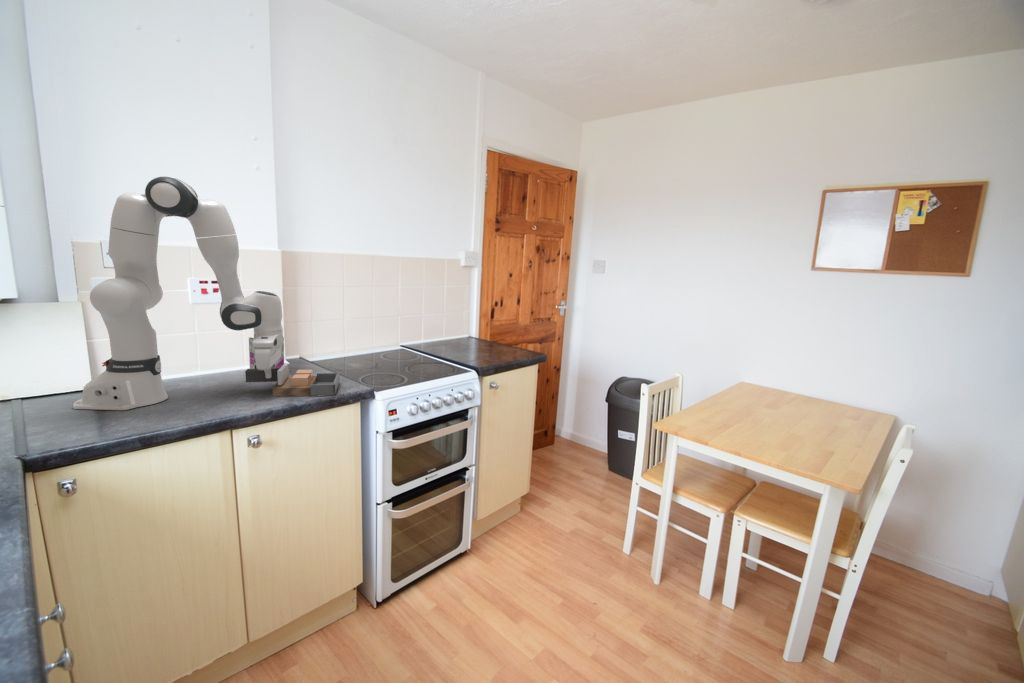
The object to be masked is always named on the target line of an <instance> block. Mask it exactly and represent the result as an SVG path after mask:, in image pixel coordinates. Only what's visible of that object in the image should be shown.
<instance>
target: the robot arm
mask: <svg viewBox="0 0 1024 683" xmlns="http://www.w3.org/2000/svg"><path fill="white" fill-rule="evenodd" d="M164 217H166V218H167V217H179V218H183V219H184V218H185V219H187V221H188V222H189V223H190V225H191V227H192V229H193V232H194V237H195V240H196V244H197V246H198V249H199V251H200V253H201V255H202V257H203V258H204V261H205V262H206V263H207V265H209V267H210V268H211V269H212V271H213V273H214V275H215V278H216V282H217V285H218V289H219V293H220V296H221V303H220V307H219V316H220V318H221V321H222V324H223V325H224V326H225V327H226V328H228V329H230V330H232V331H244V330H250V329H253V337H254V339H253V341H252V347H253V348H255V349H254V354H255V362H256V367H257V369H258V370H264V372H265V377H266V378H271V377H272V372H271V369H275V367H276V362H277V361H278V360H279V359H280V358H281V343H283V337H284V331H283V330H284V329H283V325H282V319H283V310H282V303H281V299H280V297H279V296H278V295H277V294H275V293H274V292H270V291H269V292H268V291H264V290H262V291H261V290H256V291H254V292H253V293H252V294H250V295H247V296H246V297H244V294H243V292H242V288H241V284H240V280H239V276H238V262H239V257H240V250H239V241H238V237H237V233H236V230H235V225H234V223H233V221H232V218H231V216H230V213H229V212H228V209H227V208H226V206H225V204H223V203H222V202H220V201H216V200H214V199H201V198H199V196H198V193H197V192H196V190H195V189H194V188H193V187H192V186H190V185H189V184H188V183H186V182H185V181H184V180H181V179H178V178H174V177H169V176H158V177H155V178H153V179H151V180H149V181H148V183H146V186H145V189H144V193H136V192H126V193H121V194H120V195H119V196H118V197H117V198H116V200H115V203H114V207H113V210H112V213H111V218H110V226H109V227H110V228H109V236H108V237H109V239H108V251H107V253H108V257H109V258H110V259H111V262H112V265H113V269H114V276H115V277H114V278H108V279H105V280H103V281H101V282H100V283H98V284H96V285H95V286H94V287H92V289H91V291H90V293H89V300H90V304H91V306H93V308H94V309H95V311H98V312H99V314H100V316H101V318H102V320H103V322H104V325H105V327H106V330H107V334H108V337H109V344H110V346H109V347H110V354H111V357H110V358H109V359H107V360H105V361H104V362H101V364H102V365H101V367H105V370H104V371H103V372H102V373H100V374H99V375H97V376H95V377H94V378H93V379H91V380H90V381H89V382H88V383H86V384H85V385H84V386H83V389H82V396H81V398H79V399H77V400H76V401H74V402H73V404H72V409H73V410H96V411H97V410H103V411H104V410H105V411H126V410H127V411H128V410H132V409H135V408H139V407H145V406H149V405H150V406H151V405H153V404H159V403H161V402H164V401H166V400H167V399H168V398H169V395H168V393H167V391H166V388H165V386H164V382H163V379H162V378H163V377H162V374H161V373H162V362H161V355H159V352H158V350H159V349H158V342H157V341H158V340H157V332H156V329H154V328H153V326H152V324H151V322H150V319H149V316H148V313H147V311H148V310H151V309H153V308H154V307H156V306H157V305H158V304H160V301H161V300H162V298H163V296H164V294H163V293H164V291H163V287H162V286H161V285H160V280H159V270H158V263H157V261H158V259H157V258H158V256H157V255H158V245H159V236H160V234H159V233H160V225H161V221H162V220H163V218H164Z"/></svg>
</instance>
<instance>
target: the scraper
mask: <svg viewBox="0 0 1024 683" xmlns="http://www.w3.org/2000/svg"><path fill="white" fill-rule="evenodd" d="M289 369H290V368H289V362H284V364H283V365H282V367H281V368H280V369H271V372H272V377H271V378H266V377H265V372H264V370H258V369H250V368H247V369H246V370H245V371H244V372H245V373H244V374H245V375H244V376H245V383H263V382H264V383H268V382H269V383H270V382H271V383H274V382H276V383H277V382H278V385H282V384H283V383H284V381H285V380H286V379H287V378H288V376H289V375H290V374H289V372H290V371H289Z"/></svg>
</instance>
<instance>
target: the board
mask: <svg viewBox="0 0 1024 683" xmlns="http://www.w3.org/2000/svg"><path fill="white" fill-rule="evenodd" d="M293 376H294V375H293ZM293 376H292V375H291V376H288V378H287V379H286V380H285V381H284V383H283V384H282V385H278V382H276V383H275V385H274V386H273V387H272V397H273V396H280V398H281V396H282V397H305V396H306V397H312V396H311V387H310V385H312V384H316V383H317V375H313V378H312V380H311V381H310V383H309V385H308V386H292V377H293Z"/></svg>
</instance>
